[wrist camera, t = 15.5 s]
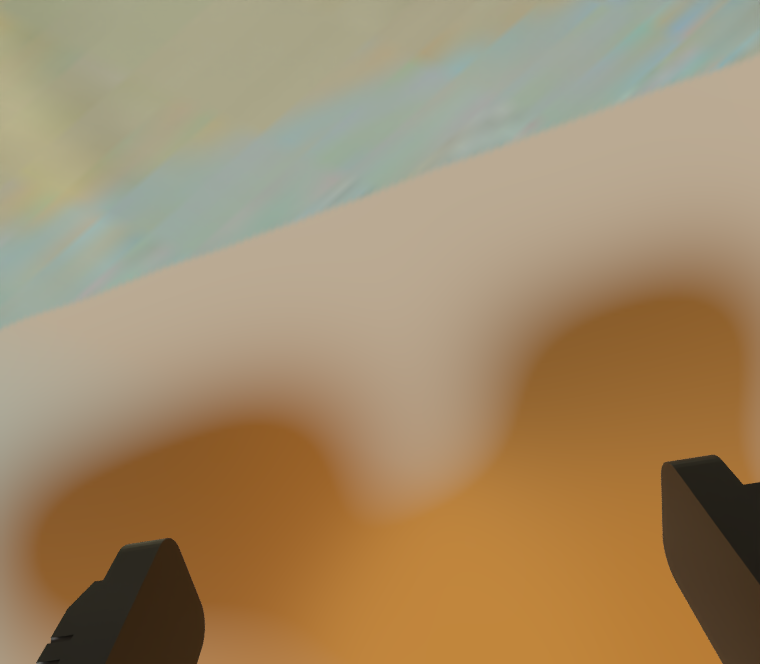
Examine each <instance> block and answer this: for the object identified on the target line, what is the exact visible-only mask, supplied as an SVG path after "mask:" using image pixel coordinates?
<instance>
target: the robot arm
mask: <svg viewBox="0 0 760 664" xmlns="http://www.w3.org/2000/svg"><path fill="white" fill-rule="evenodd" d="M661 486H662V524H663V544H664V549H665V554H666V558H667V561H668V564H669V567H670V570H671V572H672V575H673V576H674V579H675V581H676V583H677V584H678V586H679V588H680V590H681V591H682V593H683V595H684V597H685V598H686V600H687V602H688V604H689V605H690V607H691V609H692V611H693V612H694V614H695V616H696V618H697V619H698V621H699V623H700V625H701V626H702V628H703V630H704V632H705V633H706V635H707V637H708V639H709V640H710V642H711V644H712V646H713V647H714V649H715V651H716V652H717V654H718V656H719V658H720V659H721V661H722V663H723V664H760V482H759V483H752V484H746V485H743V484H742V483H741V482H740V480H739V479H738V478H737V477H736V476H735V475H734V474H733V472H732V471H731V470H730V469H729V468H728V467H727V466H726V464H725V463H724V462H723V461H722V460H721V459H720V458H719V457H718V456H716V455H708V456H702V457H695V458H689V459H683V460H677V461H670V462H665V463H664V464H663V466H662V470H661ZM204 632H205V620H204V613H203V608H202V604H201V602H200V599H199V597H198V594H197V592H196V589H195V587H194V584H193V582H192V579H191V577H190V574H189V572H188V569H187V567H186V564H185V562H184V559H183V557H182V554H181V552H180V549H179V547H178V545H177V544H176V542H175V541H174V540H173V539H171V538H166V539H159V540H153V541H147V542H140V543H134V544H128V545H125V546H123V547H122V548H121V549H120V551H119V552H118V554H117V556H116V558H115V560H114V561H113V563H112V565H111V567H110V569H109V571H108V573H107V575H106V576H105V578H104V580H102V581H95V582H94V583H93V584H92V585H91V586H90V587H89V588H88V589H87V590H86V591H85V592H84V593H83V594H82V595H81V596H80V597H79V598H78V599H77V600H76V601H75V602H74V603H73V604H72V605H71V606H70V607H69V608H68V609H67V611H66V613H65V614H64V616H63V618H62V619H61V621H60V623H59V625H58V626H57V628H56V630H55V631H54V633H53V635H52V637H51V643H50V644H47V645H46V647H45V649H44V650H43V652H42V654H41V656H40V657H39V659H38V661H37V662H36V663H37V664H197V662H198V658H199V655H200V652H201V649H202V645H203V640H204Z"/></svg>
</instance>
